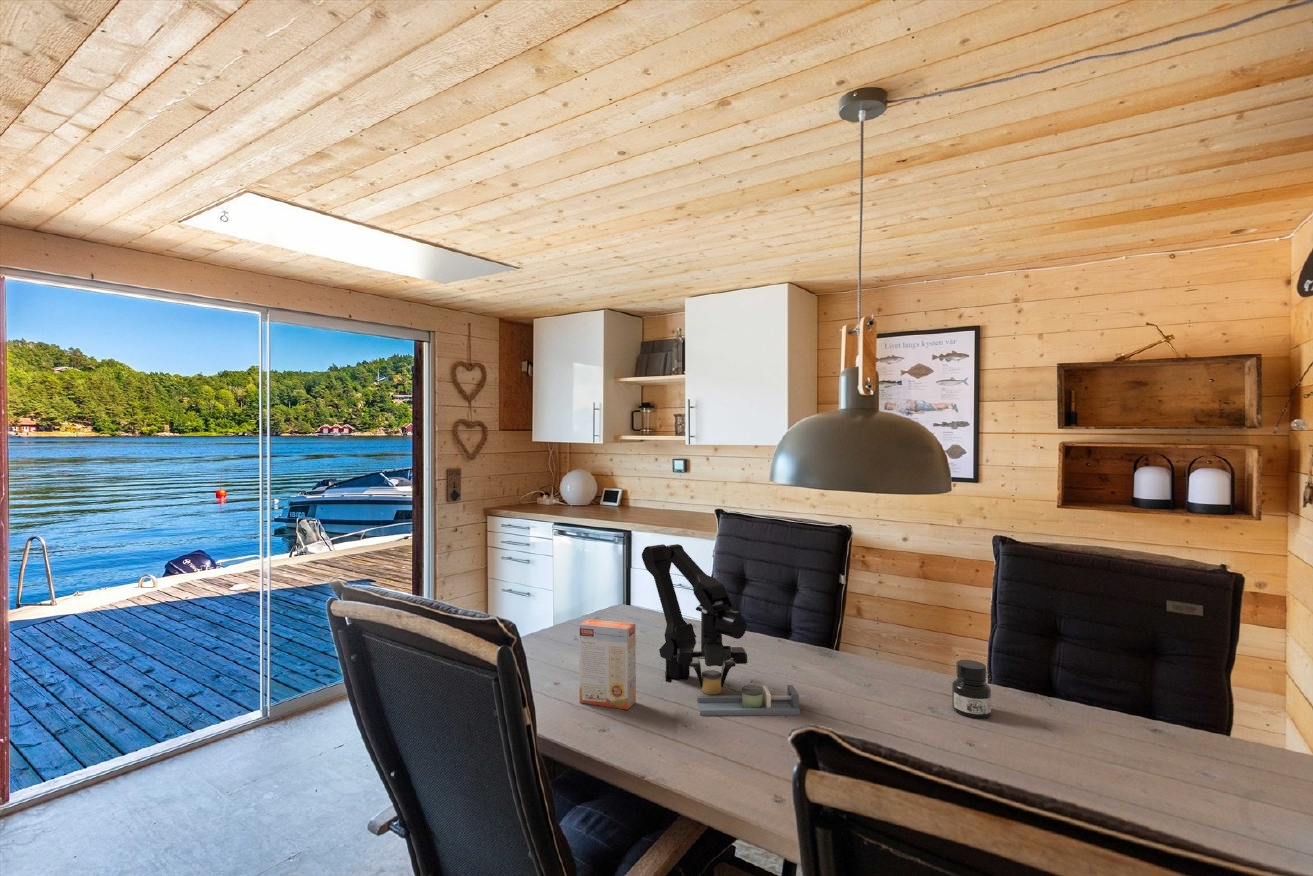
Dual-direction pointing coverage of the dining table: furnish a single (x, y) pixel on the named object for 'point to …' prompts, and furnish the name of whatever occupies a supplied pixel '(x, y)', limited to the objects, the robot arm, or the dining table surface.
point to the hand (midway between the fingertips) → (711, 686)
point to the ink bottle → (971, 690)
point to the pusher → (779, 697)
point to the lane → (734, 707)
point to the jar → (711, 682)
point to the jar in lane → (752, 696)
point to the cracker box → (607, 663)
